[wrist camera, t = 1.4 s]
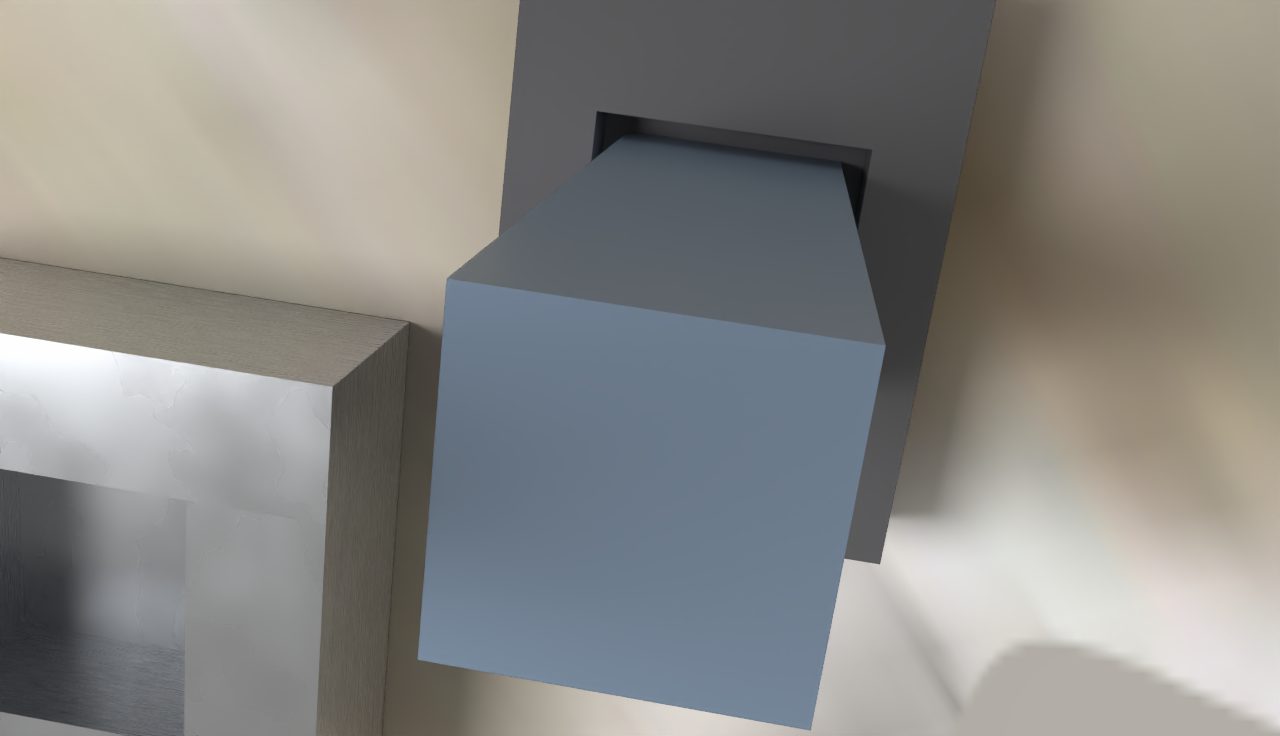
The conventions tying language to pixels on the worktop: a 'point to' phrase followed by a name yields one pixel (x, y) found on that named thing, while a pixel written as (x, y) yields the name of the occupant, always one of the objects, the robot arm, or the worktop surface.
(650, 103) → the dark grey flat frame
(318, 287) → the worktop surface
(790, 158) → the plug
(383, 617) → the block
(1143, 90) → the worktop surface
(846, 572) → the worktop surface
